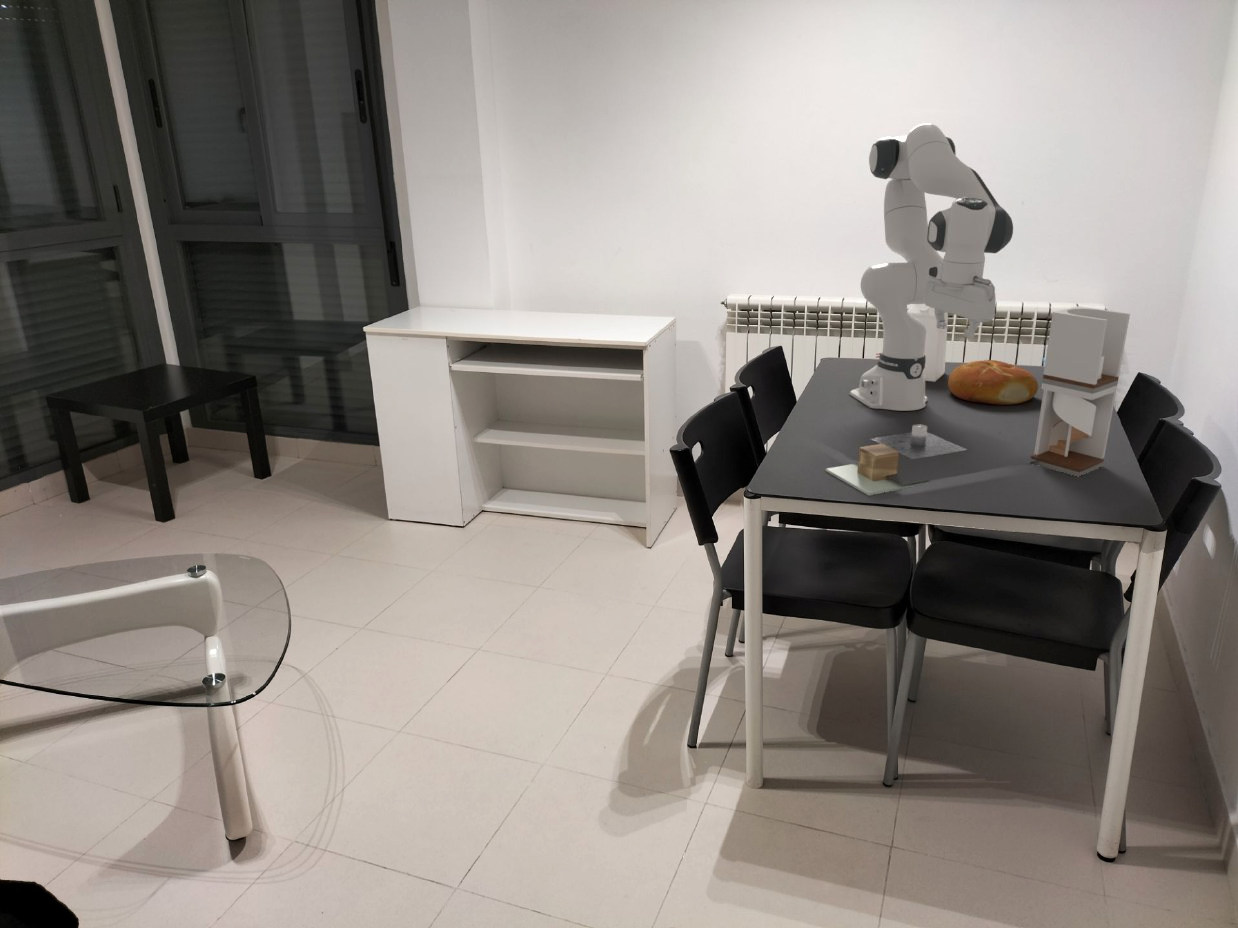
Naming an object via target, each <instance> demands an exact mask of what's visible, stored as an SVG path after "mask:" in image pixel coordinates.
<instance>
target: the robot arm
mask: <svg viewBox="0 0 1238 928" xmlns="http://www.w3.org/2000/svg"><path fill="white" fill-rule="evenodd" d="M945 135H946V134H944V132H943V131H942V130H941V129H940V128H939V127H938V126H937V125H935V124H932V123H921V124H918V125H916V126H915V127H913V128H911V130H910V131H909V132H908V133H907V135H900V136H895V137H891V136H886V137H881V138H879V139H877V140H875V142H874V143H873V144H872V146H871V149H870V152H869V156H868V166H869V169H870V173H871V174H872V175H873V177H875V178H878V179H882V180H887V179H889V181H888V182H887V184H886V187H885V192H884V200H883V219H884V220H883V221H884V235H885V237H884V238H885V243H886V246H887V248H889V250H891V251H892V252H894V253H895V254H897V255H900V256H901V257H902V258H903V259H904V260H905V262H885V263H884V262H883V263H880V264H875V265H871V266H868V268H866V270H865V271H864V272H863V273H862V276H861V279H860V291H861V294H862V296H863V297H864V299H865V300H866V301H867V302H868V303H869V304H870V305H872V307H874V308H875V310H876V311H877V313H878V315H879V316H880V319H881V321H882V322H881V323H882V331H883V332H882V333H883V338H882V339H883V340H882V351H881V352H880V353H876V354H875V355H876V356H875V358H877V362H876V365H875V366H873V367H872V368H870V369H869V370H867V371H866V372H864V373H863V374H861V376H860V380H859V385H858V388H857V387H856V388H855V389H852V390H850V392H849V395H850V396H851V397H853V398H854V399H855V400H857V401H860V403H862V404H864V405H865V406H867V407H868V408H870V409H877V410H878V409H880V410H881V409H882V410H890V411H900V412H901V411H903V412H904V411H907V412H908V411H916V410H917V411H918V410H921V409H923V408H925V407H926V402H928V396H926V380H925V373H924V372H923V369H924V368H925V363H926V356H925V355H924V353H925V343H926V333H927V330H926V327H925V325H924V324H923V323H922V322H921V321H920V320H918V319H917V318H915V317H913V316H911V315H909V314H908V313H907V311H908V306H910V305H911V304H925V305H926V306H929V307H932V308H935V311H934V313H935V317H936V320H937V326H936V327H937V328H939V329H946V327H947V328H948V324H947V321H945V317H944V313H945V312H947V313H949V314H952V315H954V316H959V317H961V318H965V319H968V324H969V326H968V327H967V329H964V331H963V332H964V333H963V337H964V338H966V339H974V338H975V333H976V330H977V329H978V328H979V326H980V325H981V323H987V322H991V321H993V319H994V318H995V316H996V315H995V314H996V300H997V299H996V288H995V286H994V284H993V282H992V281H991V279H989V278H987V279H986V278H983V277H984V276H983V275H984V270H985V269H984V268H985V264H986V263H985V262H986V260H985V259H986V258H985V253H986V254H997V253H999V252H1000V251H1001V250H1003V249H1004V248H1005V247H1006V246H1008V244H1009V243H1010V242H1011V240H1012V238H1013V234H1014V223H1013V220H1012V218H1011V216H1010V214H1009V213H1008V212H1007V211H1006V210H1005V208H1004V207H1002V206H1001V205H1000V204H999V203H998V201H997V200H996V199H995V197H994V196H993V194H992V192H991V191H990V189H989V187H988V186H987V184H985V182H984V181H983V179H982V177H981V176H980V175H979V173H978V172H977V171H976V170H974V169H973V168H971V167H970V166H968V165H966V163H964V162H963V161H962V160H961V159H959V157H957V156H956V155H957V154H956V146H955V143H954V141H953V140H952V138H950V137H947V136H945ZM926 194H930V195H934V196H935V195H936V196H941V197H948V198H953V199H955V200H953V202H952V203H951V206H950V207H948V208H947V209H944V210H939V211H937V212H936V213H935V214H934V215H933V216H932V217H931V218H930V220H928V210H927V201H926ZM938 252H941V253H945V254H944V256H943V257H942V256H941V255H940V253H938Z"/></svg>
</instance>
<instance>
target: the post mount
mask: <svg viewBox="0 0 1238 928" xmlns="http://www.w3.org/2000/svg"><path fill="white" fill-rule="evenodd" d="M870 440H871V441H873V442H875V443H877V444H884V445H886V446H888V447H890V448H892V449H894V450H896V451H898V452H899V454H900V455H902V456H904V457H907V458H908V459H911V460H918V459H923V458H929V457H930V458H931V457H934V456H935V457H936V456H941V455H946V454H952V453H959V452H963V451H968V449H967V448H965V447H963V446H960V445H958V444H956V443H953V442H951V441H949V440H946V439H944V438H942V437H939V436H937V435H935V434H933V433H930V432H928V425H926V424H921V423H920V424H918V423H917V424H916V423H915V424H913V425H912V429H911V432H904V433H899V434H893V435H891V434H890V435H886V436H880V437H874V438H870Z"/></svg>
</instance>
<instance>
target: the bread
mask: <svg viewBox="0 0 1238 928" xmlns="http://www.w3.org/2000/svg"><path fill="white" fill-rule="evenodd" d="M947 380H948V381H947V382H948V383H947V385H948V388H949V391H950V393H952V395H954V396H955V397H957V398H958V399H961V400H964V401H967V402H974V403H981V404H987V405H988V404H989V405H996V406H998V405H1001V406H1011V405H1019V404H1023V403H1025V402H1028V401H1029V400H1031V399H1032V398H1034V397H1035V396H1036V394H1037V393H1038V390H1039V382H1038V380H1037V378H1036V377H1035V376H1034V375H1033V374H1032V372H1030V371H1028V370H1027V369H1024V368H1022V367H1019V366H1017V365H1014V364H1011V363H1008V362H1003V361H1001V360H1000V361H999V360H992V359H986V360H985V359H984V360H974V361H970V362H967V363H964V364H960V365H959V366H957V367H956V368H954V369H953V370H952V371H951V373H950V374H949V376H948V379H947Z"/></svg>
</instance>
